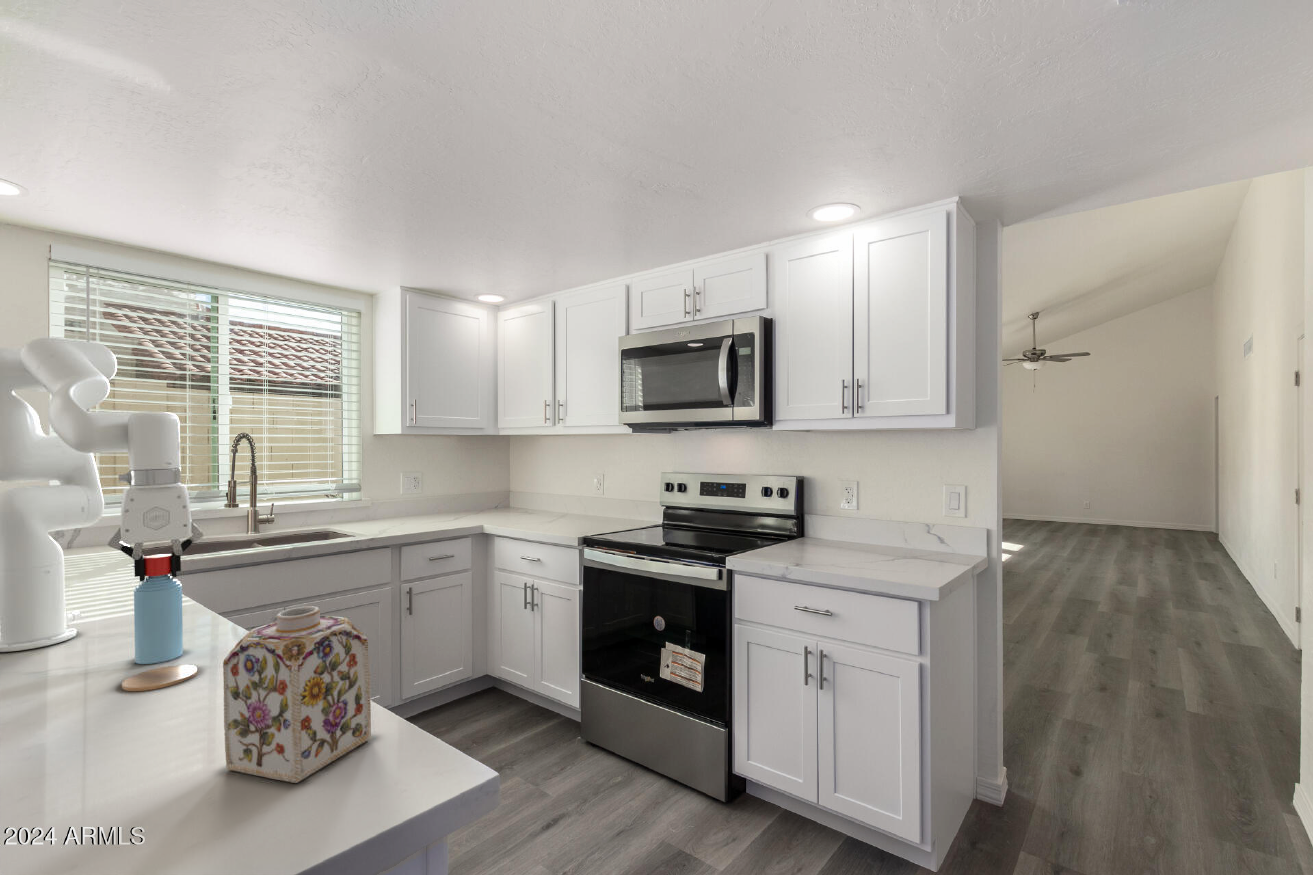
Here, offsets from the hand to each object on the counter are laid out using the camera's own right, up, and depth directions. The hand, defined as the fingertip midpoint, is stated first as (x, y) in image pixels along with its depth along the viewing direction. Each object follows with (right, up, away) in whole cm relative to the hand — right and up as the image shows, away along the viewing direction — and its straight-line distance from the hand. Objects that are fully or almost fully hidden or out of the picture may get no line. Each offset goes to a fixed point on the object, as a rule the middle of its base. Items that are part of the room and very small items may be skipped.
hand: (158, 576), depth 118 cm
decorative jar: (+48, -14, -38) cm, 63 cm away
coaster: (+9, -15, -11) cm, 20 cm away
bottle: (0, -15, 0) cm, 15 cm away
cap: (0, +1, 0) cm, 1 cm away
